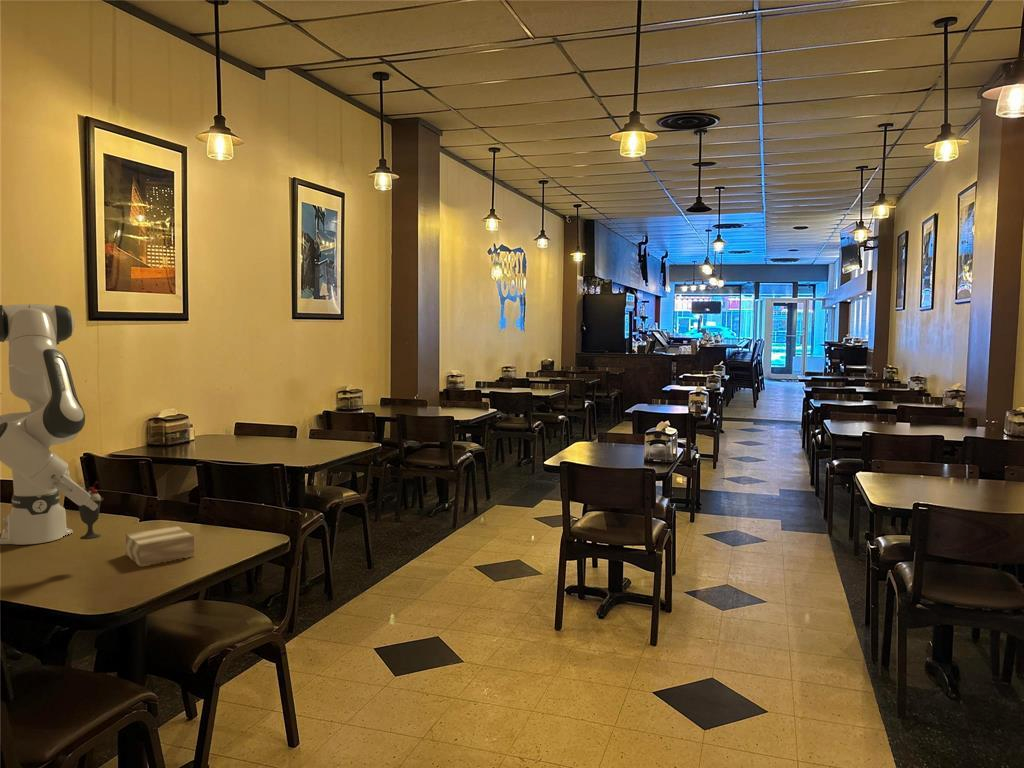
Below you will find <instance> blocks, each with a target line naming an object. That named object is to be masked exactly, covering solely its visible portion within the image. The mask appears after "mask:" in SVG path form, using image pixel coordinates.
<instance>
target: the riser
mask: <svg viewBox="0 0 1024 768" xmlns="http://www.w3.org/2000/svg"><path fill="white" fill-rule="evenodd" d="M125 554H126V555H125V556H127V557H128V556H129V557H130V558H129V557H128V558H129V559H130V560H132V561H133V562H134V563H135V562H136V563H135V564H136V565H138V566H139V567H140V568H141V566H142V567H145V566H146V567H147V566H151V564H153V565H157V563H158V564H162V563H161V562H163V563H168V562H167V561H169V562H172V561H171V560H174V561H177V560H176V559H179V560H183V559H182V558H185V559H189V557H190V558H194V557H195V535H193V534H191V533H190V532H188V531H186V530H184V529H183V528H181V526H178V525H175V526H168V527H163V528H156V529H149V530H143V531H137V532H136V531H135V532H130V533H125Z"/></svg>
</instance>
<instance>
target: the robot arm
mask: <svg viewBox="0 0 1024 768" xmlns="http://www.w3.org/2000/svg"><path fill="white" fill-rule="evenodd" d="M75 326H76V325H75V318H74V315H73V313H72V311H71V309H69V308H68V307H66V306H64V305H63V306H62V305H59V304H58V305H57V304H55V305H48V304H37V303H29V304H11V305H10V304H9V305H3V304H0V342H1V343H5V342H8V376H9V377H8V378H9V379H8V380H9V390H10V392H11V393H12V395H14V396H15V397H17V398H18V399H21V400H24V401H25V402H27V404H28V406H29V410H30V411H25V412H23V411H21V412H10V413H5V414H1V415H0V462H1V463H3V465H5V466H7V467H8V468H9V469H11V474H12V475H11V476H12V484H13V485H12V486H13V494H12V497H11V506H12V509H11V510H10V512H9V513H8V515H7V517H4V518H2V526H3V527H5V528H4V529H3V530H2V532H1V535H0V545H20V546H21V545H38V544H42V543H48V542H53V541H56V540H59V539H62V538H63V536H64V537H65V535H66V536H68V534H69V535H72V534H74V532H73V529H71V528H69V527H67V515H66V509H65V507H64V506H62V505H60V503H59V502H60V498H61V496H60V493H61V494H62V495H63V496H65V497H67V499H69V500H71V501H72V502H73V503H74V504H76V505H77V506H78V505H79V506H82V505H85V506H87V507H89V508H90V509H91V510H93V511H94V510H96V509H97V508H98V505H97V504H96V503H95V502H93V501H92V500H91V499H90V497H91V495H90V494H89V493H88V492H86V491H85V490H86V489H84V488H83V487H82V486H80V485H79V484H78V483H77V482H76V481H74V479H72V478H71V477H70V473H71V472H70V470H68V467H69V463H67V462H66V461H65V460H64V459H63V458H61V457H59V456H58V455H57V454H56V453H55V452H54V451H51V450H50V447H52V446H58V445H61V444H65V443H68V442H71V441H74V440H75V439H76V438H77V436H78V435H79V433H80V432H81V431H82V429H83V428H84V426H85V423H86V414H85V410H84V409H83V407H82V405H81V403H80V400H79V398H78V396H77V391H76V387H75V384H74V380H73V377H72V373H71V369H70V366H69V361H68V360H67V359H66V356H65V355H64V354H63V352H61V351H59V350H58V346H57V345H60V342H64V341H66V340H68V339H70V338H71V337H72V335H73V332H74V329H75ZM79 506H78V507H79ZM71 533H72V534H71Z"/></svg>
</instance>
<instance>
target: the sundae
mask: <svg viewBox="0 0 1024 768" xmlns="http://www.w3.org/2000/svg"><path fill="white" fill-rule="evenodd" d="M98 483H99V481H97V480H96V481H95V482H94V483H93V485H92V486H91V487H89V488H87V489H84V490H85V491H86V492H88V493H89V494H90V495H91V497H90V499H91V500H92V501H93V502H95V503H96V504H97V505H98V508H97V509H96V510H94V511H93V510H91V509H90V508H89V507H87V506H85V505H82V506H79V505H77V506H78V511H79V516H80V520H81V521H82V522H83V523H84V524H86V525H87V531H86V533H85V534H84V535H82V536H80V537H79V539H80V540H92V539H98V538H101V536H102V535H101V534H99V533H95V532H94V530H93V527H94V526H93V525H94V524H95V523H96V522H97V521H98V520H99V518H100V517H99V516H100V510H101V509H100V508H101V503H102V502H103V501H104V497H103V496H101V495H100V494H99V493H98V489H96V487H95V486H96V485H97V484H98Z"/></svg>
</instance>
